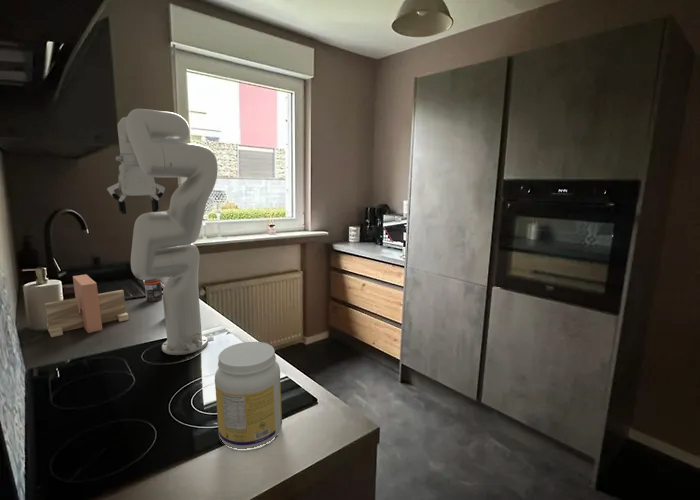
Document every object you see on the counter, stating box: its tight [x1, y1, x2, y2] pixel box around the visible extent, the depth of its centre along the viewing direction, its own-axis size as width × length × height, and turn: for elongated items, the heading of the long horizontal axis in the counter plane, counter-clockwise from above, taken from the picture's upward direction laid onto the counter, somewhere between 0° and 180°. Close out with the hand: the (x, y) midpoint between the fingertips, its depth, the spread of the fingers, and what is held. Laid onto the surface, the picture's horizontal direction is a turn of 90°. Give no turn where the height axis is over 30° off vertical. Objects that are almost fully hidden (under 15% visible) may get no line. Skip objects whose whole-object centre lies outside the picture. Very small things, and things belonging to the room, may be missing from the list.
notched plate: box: [72, 274, 103, 334], centre depth 129 cm, size 16×4×16 cm, turn 44°
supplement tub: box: [214, 341, 283, 449], centre depth 73 cm, size 12×12×17 cm
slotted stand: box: [44, 289, 130, 338], centre depth 130 cm, size 8×22×10 cm, turn 134°
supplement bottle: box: [143, 278, 163, 303], centre depth 156 cm, size 6×6×11 cm
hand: (139, 212), depth 128 cm, fingers open, 9 cm apart
